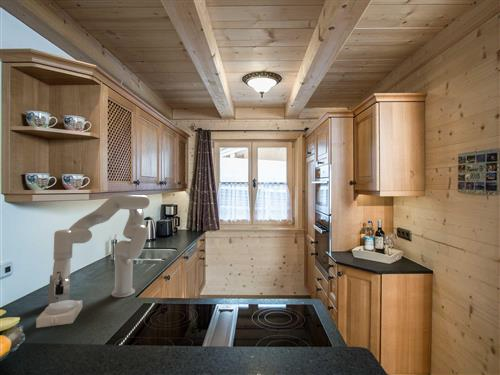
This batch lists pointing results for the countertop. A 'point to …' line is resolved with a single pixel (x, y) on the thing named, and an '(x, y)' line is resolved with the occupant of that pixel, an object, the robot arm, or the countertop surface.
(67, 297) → the skincare box
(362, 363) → the countertop surface
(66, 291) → the steel spacer
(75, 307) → the scale
